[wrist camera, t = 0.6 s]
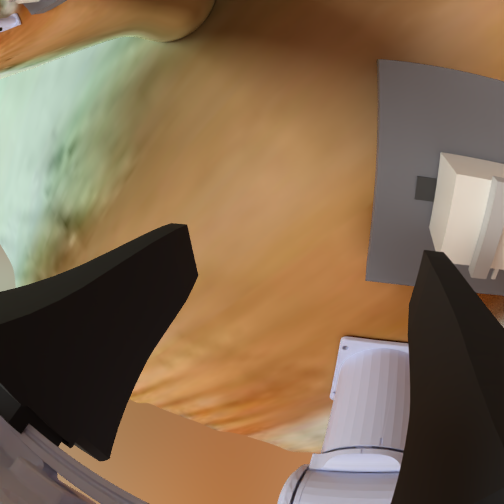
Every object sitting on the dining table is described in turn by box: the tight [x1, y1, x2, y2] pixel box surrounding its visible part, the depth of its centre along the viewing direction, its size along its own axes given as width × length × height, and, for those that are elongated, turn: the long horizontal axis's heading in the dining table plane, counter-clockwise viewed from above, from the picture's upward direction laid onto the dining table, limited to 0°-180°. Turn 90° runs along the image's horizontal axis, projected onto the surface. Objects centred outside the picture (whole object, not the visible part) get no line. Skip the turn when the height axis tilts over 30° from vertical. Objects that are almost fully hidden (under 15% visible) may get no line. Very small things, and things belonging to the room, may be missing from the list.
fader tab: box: [429, 152, 504, 279], centre depth 11 cm, size 4×4×4 cm
